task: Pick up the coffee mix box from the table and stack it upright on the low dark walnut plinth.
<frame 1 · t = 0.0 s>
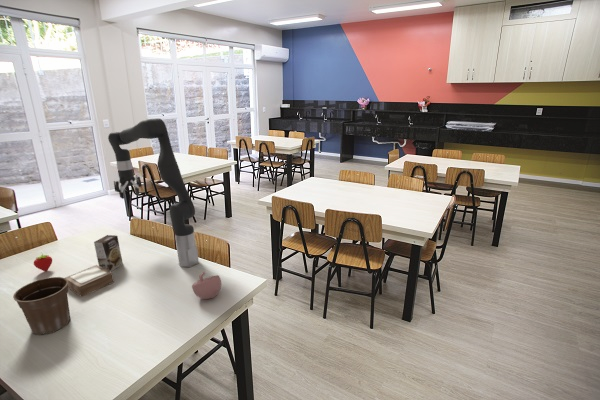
hand: (130, 196, 186), 29 cm above the table, tool pointing down, fingers open, 8 cm apart
pink apple: (208, 296, 142), on the table
plinth: (90, 284, 153), on the table
coffee box: (111, 267, 168), on the table
plant pot: (52, 325, 126), on the table
strawberry: (45, 271, 165), on the table
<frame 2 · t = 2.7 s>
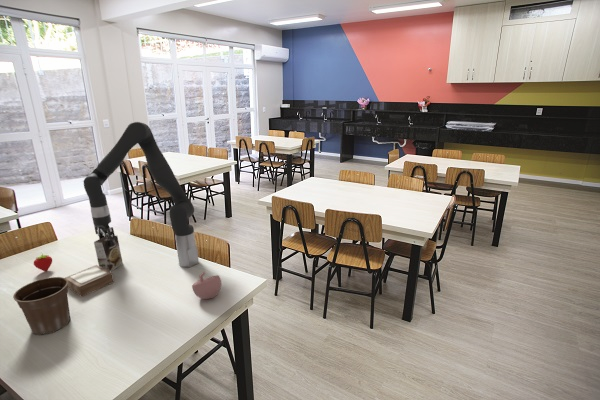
hand: (107, 244, 164), 13 cm above the table, tool pointing down, fingers open, 8 cm apart
nothing on the table moved.
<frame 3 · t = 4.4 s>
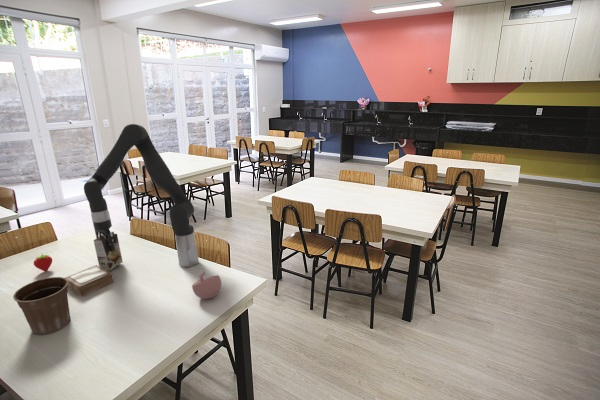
hand: (108, 249, 165), 10 cm above the table, tool pointing down, fingers closed on coffee box, 8 cm apart
coffee box: (111, 266, 167), point 1 cm above the table, touching gripper
everything else where it was.
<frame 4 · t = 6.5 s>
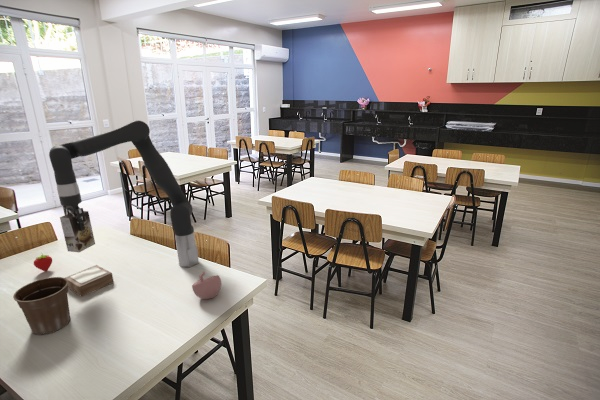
hand: (77, 228, 144), 28 cm above the table, tool pointing down, fingers closed on coffee box, 8 cm apart
coffee box: (82, 248, 147), point 19 cm above the table, touching gripper
everything else where it was.
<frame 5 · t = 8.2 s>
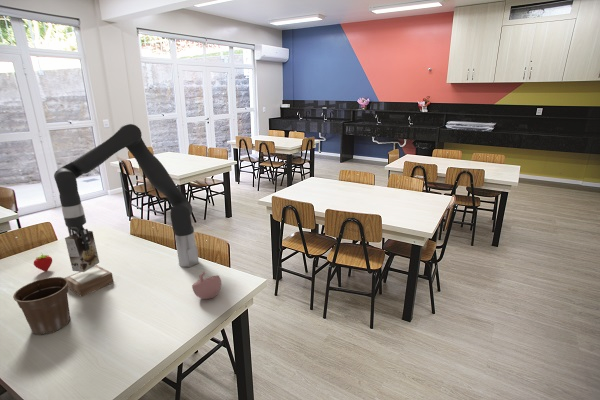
hand: (82, 248, 147), 19 cm above the table, tool pointing down, fingers closed on coffee box, 8 cm apart
coffee box: (86, 267, 150), point 9 cm above the table, touching gripper
everything else where it was.
when the fingers open (15 cm above the table, at t = 9.6 s): coffee box stays where it is, resting on plinth.
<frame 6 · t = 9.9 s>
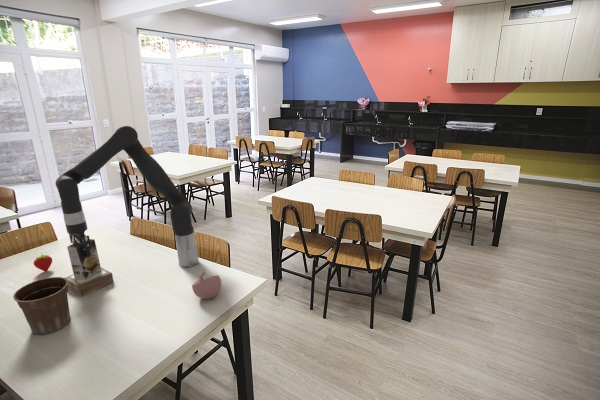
hand: (83, 254, 148), 16 cm above the table, tool pointing down, fingers open, 8 cm apart
coffee box: (88, 275, 151), point 5 cm above the table, touching plinth
everything else where it was.
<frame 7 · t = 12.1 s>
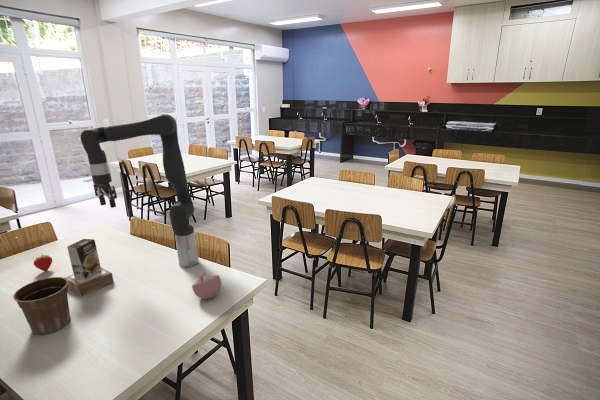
hand: (108, 206, 156), 34 cm above the table, tool pointing down, fingers open, 8 cm apart
nothing on the table moved.
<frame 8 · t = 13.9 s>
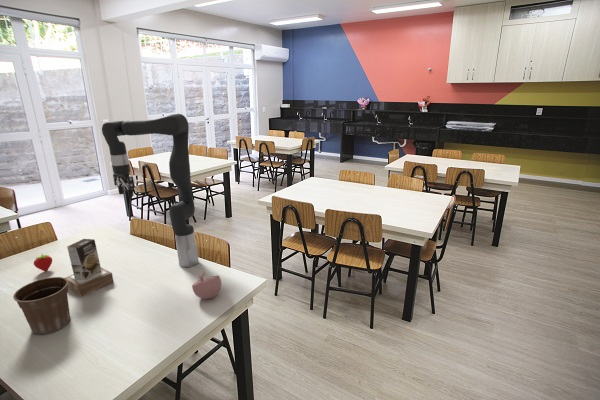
hand: (126, 195, 164), 36 cm above the table, tool pointing down, fingers open, 8 cm apart
nothing on the table moved.
at the end: coffee box inside the target area on the plinth (0.1 cm from its centre), point 5.1 cm above the plinth's base; coffee box tilted 0°; the gripper is holding nothing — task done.
